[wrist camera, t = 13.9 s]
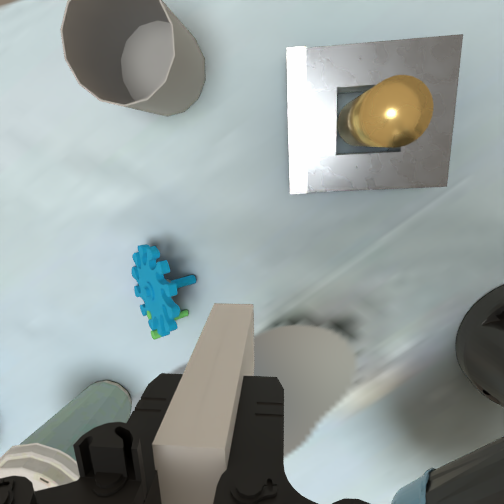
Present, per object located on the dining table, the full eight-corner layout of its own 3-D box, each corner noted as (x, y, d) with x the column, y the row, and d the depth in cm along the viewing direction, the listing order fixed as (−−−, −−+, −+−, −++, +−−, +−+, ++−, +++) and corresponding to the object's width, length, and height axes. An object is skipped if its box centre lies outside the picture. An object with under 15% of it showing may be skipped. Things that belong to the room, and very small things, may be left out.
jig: (441, 47, 32) (466, 32, 27) (429, 181, 35) (449, 187, 31) (286, 60, 33) (286, 47, 29) (289, 188, 37) (289, 193, 32)
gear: (124, 231, 38) (166, 272, 31) (173, 223, 42) (221, 258, 35) (128, 314, 43) (166, 365, 36) (172, 301, 46) (214, 345, 40)
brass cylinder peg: (384, 96, 33) (436, 72, 22) (382, 145, 34) (430, 145, 23) (337, 100, 34) (364, 77, 22) (336, 147, 35) (361, 149, 24)
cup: (213, 33, 33) (183, -12, 23) (198, 123, 36) (166, 116, 26) (126, 13, 33) (63, -39, 24) (118, 105, 36) (58, 91, 26)
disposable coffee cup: (127, 442, 49) (62, 565, 35) (58, 406, 48) (-37, 516, 34) (159, 389, 46) (102, 501, 32) (86, 350, 45) (-7, 446, 31)
